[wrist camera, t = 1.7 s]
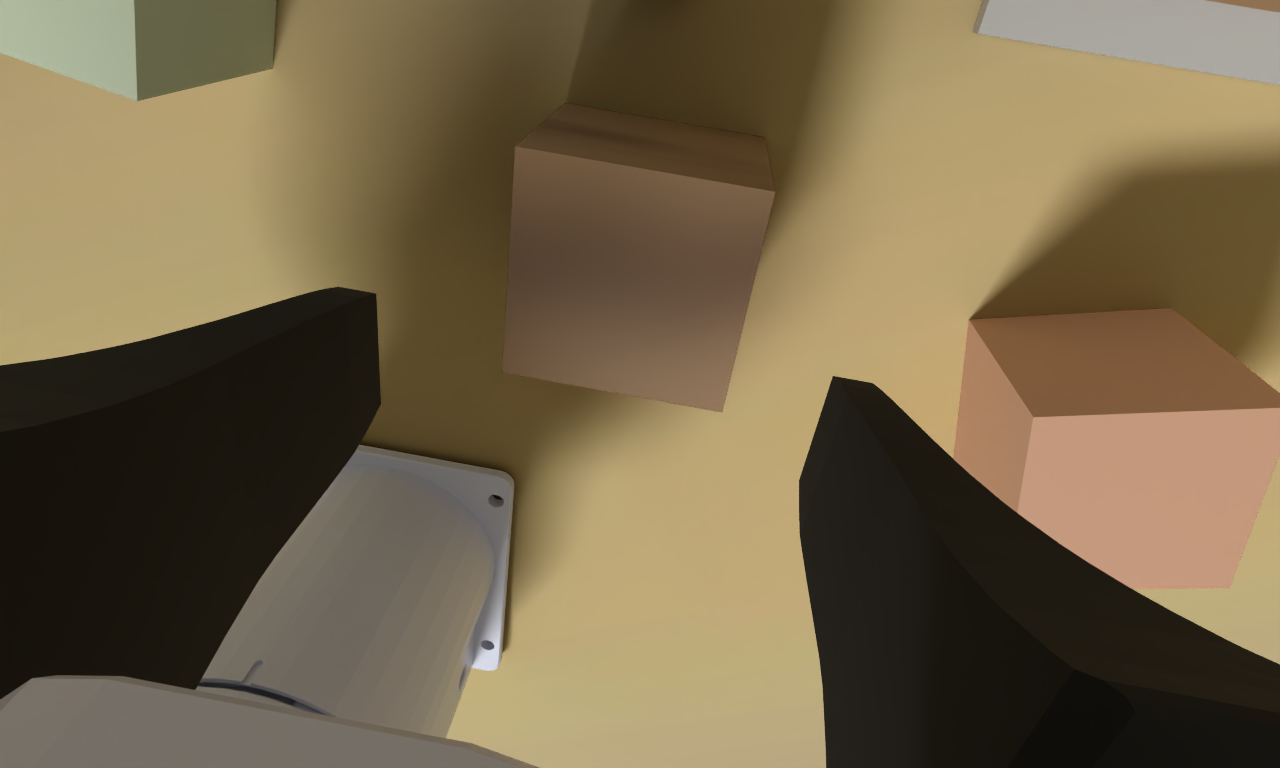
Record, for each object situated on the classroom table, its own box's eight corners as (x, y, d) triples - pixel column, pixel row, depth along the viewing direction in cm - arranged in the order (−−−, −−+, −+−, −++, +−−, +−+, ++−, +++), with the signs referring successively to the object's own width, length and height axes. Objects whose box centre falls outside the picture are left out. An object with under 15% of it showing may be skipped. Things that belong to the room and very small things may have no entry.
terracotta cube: (1130, 463, 22) (1229, 588, 17) (951, 467, 22) (1003, 589, 18) (1170, 306, 19) (1297, 407, 15) (968, 318, 20) (1033, 417, 16)
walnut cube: (723, 318, 21) (722, 412, 16) (549, 287, 21) (502, 372, 16) (764, 137, 18) (775, 191, 14) (566, 102, 18) (514, 146, 14)
